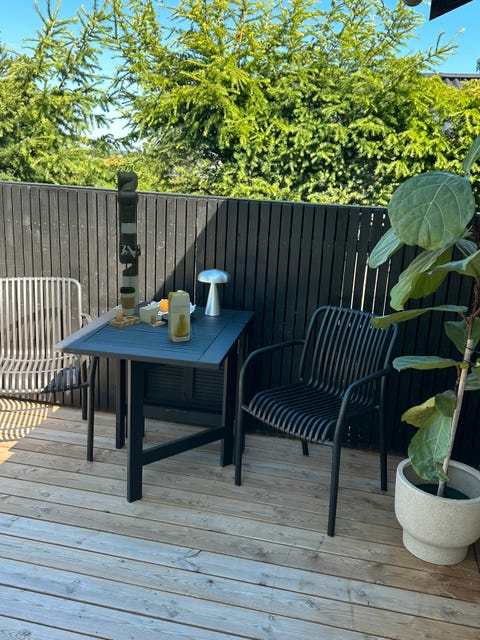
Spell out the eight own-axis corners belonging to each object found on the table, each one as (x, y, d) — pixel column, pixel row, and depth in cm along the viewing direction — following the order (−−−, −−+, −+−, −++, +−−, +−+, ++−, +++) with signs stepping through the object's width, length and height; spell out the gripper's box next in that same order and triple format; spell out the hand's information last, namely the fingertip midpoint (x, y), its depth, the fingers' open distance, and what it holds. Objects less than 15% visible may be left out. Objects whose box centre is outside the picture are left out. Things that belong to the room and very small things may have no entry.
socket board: (119, 328, 290) (119, 323, 289) (109, 325, 294) (109, 320, 294) (140, 322, 300) (140, 317, 299) (130, 319, 305) (130, 315, 304)
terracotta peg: (115, 325, 294) (115, 310, 292) (120, 324, 297) (119, 309, 295) (119, 326, 293) (118, 311, 290) (124, 325, 295) (123, 310, 293)
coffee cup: (118, 313, 318) (117, 286, 314) (134, 311, 322) (133, 285, 318) (122, 316, 311) (121, 289, 307) (138, 315, 314) (137, 288, 310)
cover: (139, 320, 303) (139, 307, 302) (153, 317, 311) (153, 304, 309) (147, 322, 300) (147, 309, 298) (161, 319, 307) (161, 306, 305)
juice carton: (172, 343, 267) (172, 292, 261) (167, 338, 274) (166, 289, 267) (191, 341, 271) (191, 291, 265) (185, 336, 278) (185, 287, 271)
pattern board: (148, 325, 295) (148, 315, 294) (160, 322, 301) (159, 312, 300) (154, 326, 293) (153, 317, 291) (165, 323, 299) (165, 314, 297)
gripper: (144, 232, 292) (145, 264, 296) (125, 230, 300) (126, 260, 305) (132, 233, 286) (133, 265, 291) (114, 231, 295) (115, 262, 299)
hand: (130, 263), depth 298 cm, fingers open, 8 cm apart
